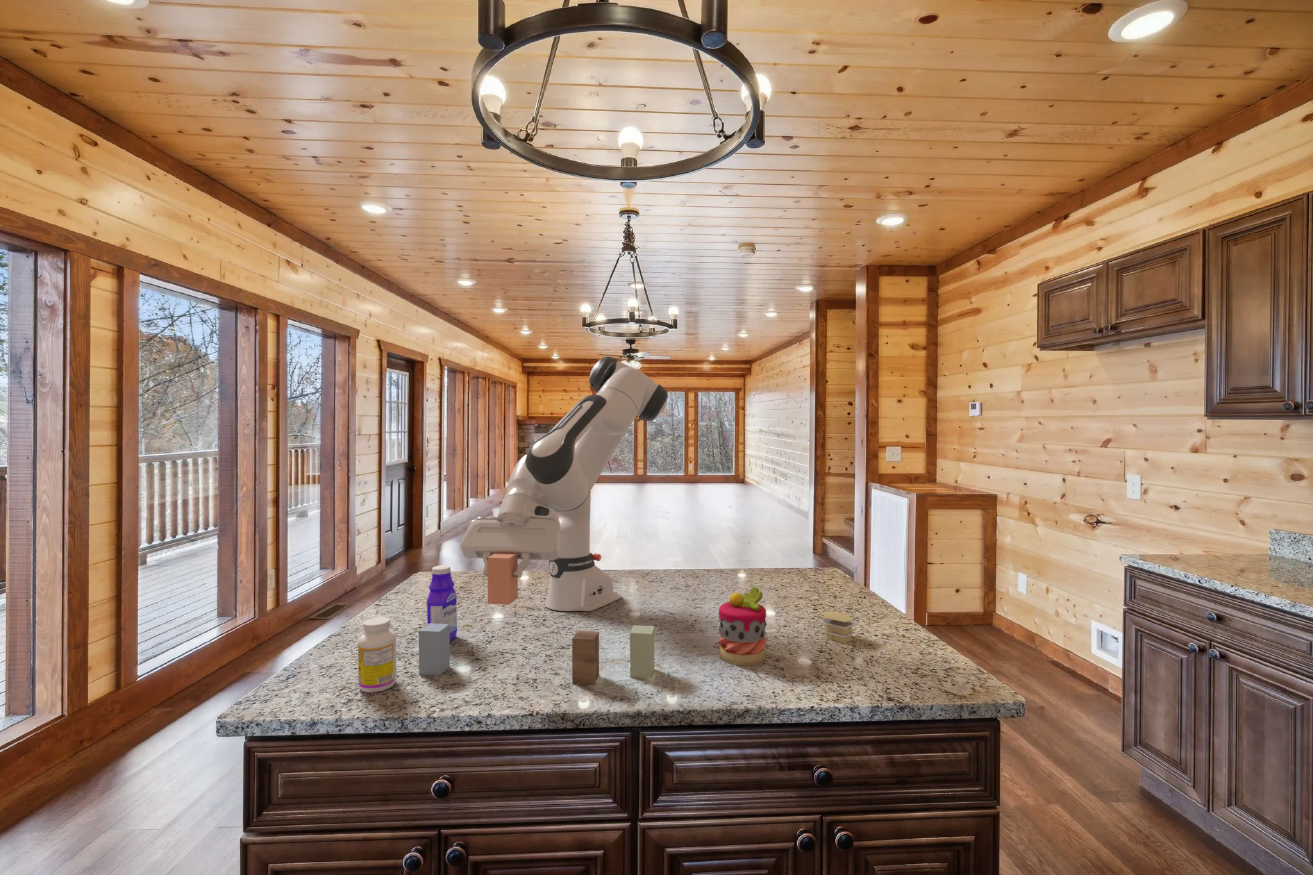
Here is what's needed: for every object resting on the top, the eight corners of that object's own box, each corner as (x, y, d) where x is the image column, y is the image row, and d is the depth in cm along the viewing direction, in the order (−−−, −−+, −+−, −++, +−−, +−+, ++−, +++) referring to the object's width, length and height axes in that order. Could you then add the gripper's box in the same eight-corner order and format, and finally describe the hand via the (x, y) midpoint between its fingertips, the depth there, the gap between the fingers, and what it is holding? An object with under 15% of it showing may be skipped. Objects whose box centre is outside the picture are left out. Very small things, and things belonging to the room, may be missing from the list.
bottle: (444, 646, 133) (444, 571, 132) (422, 644, 134) (421, 570, 134) (461, 635, 140) (460, 563, 140) (440, 633, 141) (439, 562, 141)
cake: (736, 670, 120) (736, 598, 120) (709, 652, 130) (709, 586, 129) (776, 660, 125) (776, 592, 125) (747, 644, 134) (747, 580, 134)
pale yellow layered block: (865, 640, 138) (865, 617, 138) (846, 650, 132) (846, 626, 132) (828, 629, 145) (828, 607, 145) (808, 638, 139) (808, 615, 139)
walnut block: (578, 674, 118) (577, 630, 118) (599, 675, 118) (599, 631, 118) (572, 683, 114) (572, 638, 114) (594, 685, 113) (594, 639, 113)
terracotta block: (496, 597, 117) (496, 552, 117) (517, 597, 116) (517, 553, 116) (487, 603, 112) (487, 557, 112) (509, 604, 112) (509, 558, 112)
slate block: (429, 665, 123) (429, 623, 122) (449, 666, 122) (449, 624, 122) (419, 674, 118) (418, 630, 118) (439, 675, 118) (439, 631, 118)
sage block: (633, 667, 121) (633, 625, 121) (654, 668, 121) (654, 626, 121) (630, 676, 117) (630, 632, 117) (651, 678, 117) (651, 633, 116)
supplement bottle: (367, 679, 116) (366, 615, 116) (401, 677, 116) (400, 614, 116) (352, 694, 109) (351, 627, 109) (388, 693, 110) (388, 626, 110)
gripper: (467, 508, 122) (445, 565, 113) (562, 509, 120) (548, 568, 110) (476, 525, 127) (456, 582, 117) (567, 527, 124) (554, 585, 115)
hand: (501, 575), depth 114 cm, fingers closed on terracotta block, 4 cm apart
